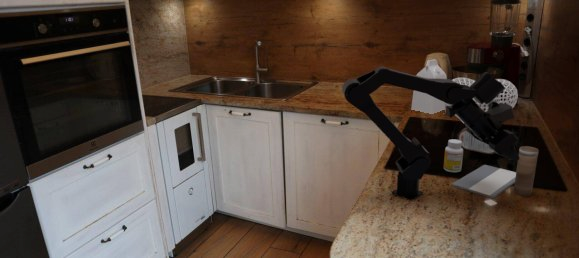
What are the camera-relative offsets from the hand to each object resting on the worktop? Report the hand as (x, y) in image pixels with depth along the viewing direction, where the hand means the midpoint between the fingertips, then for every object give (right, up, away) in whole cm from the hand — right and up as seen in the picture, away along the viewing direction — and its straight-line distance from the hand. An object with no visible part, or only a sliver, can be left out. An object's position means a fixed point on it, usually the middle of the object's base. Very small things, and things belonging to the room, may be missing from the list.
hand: (509, 153), depth 115 cm
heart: (+18, +6, +60) cm, 63 cm away
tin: (+8, -1, +37) cm, 37 cm away
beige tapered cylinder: (+6, -11, +3) cm, 13 cm away
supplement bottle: (-8, -6, +20) cm, 23 cm away
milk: (+8, +15, +91) cm, 92 cm away
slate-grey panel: (0, -9, +11) cm, 14 cm away
